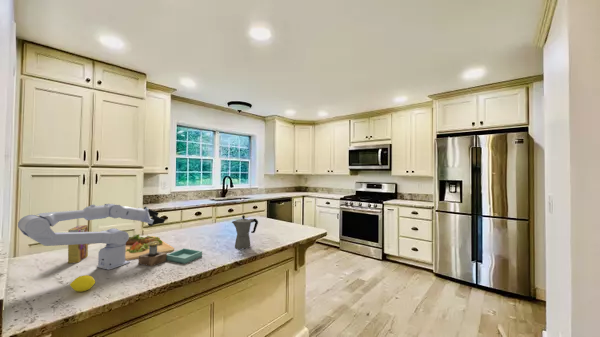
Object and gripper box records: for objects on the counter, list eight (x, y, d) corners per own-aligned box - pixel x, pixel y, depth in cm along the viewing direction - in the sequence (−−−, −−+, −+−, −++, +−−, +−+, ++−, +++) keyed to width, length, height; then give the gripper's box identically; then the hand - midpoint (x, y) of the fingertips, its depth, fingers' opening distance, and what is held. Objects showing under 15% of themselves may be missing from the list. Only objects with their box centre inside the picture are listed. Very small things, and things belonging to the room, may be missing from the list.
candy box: (77, 256, 124) (78, 225, 124) (88, 256, 125) (89, 224, 125) (66, 263, 115) (67, 229, 115) (78, 262, 117) (79, 229, 117)
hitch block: (151, 266, 115) (151, 258, 115) (138, 263, 118) (138, 255, 118) (166, 260, 123) (166, 253, 123) (153, 258, 125) (154, 250, 125)
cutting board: (175, 252, 137) (176, 238, 137) (123, 262, 120) (124, 246, 120) (154, 238, 161) (154, 226, 161) (108, 245, 144) (108, 232, 144)
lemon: (93, 287, 95) (96, 272, 96) (93, 292, 91) (97, 277, 92) (68, 289, 91) (72, 274, 92) (67, 295, 87) (71, 279, 87)
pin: (152, 264, 117) (152, 244, 117) (144, 262, 119) (145, 243, 119) (161, 261, 122) (161, 242, 122) (153, 259, 123) (154, 240, 123)
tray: (184, 263, 119) (184, 258, 119) (165, 260, 123) (165, 254, 123) (202, 256, 130) (202, 251, 130) (184, 253, 134) (184, 248, 134)
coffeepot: (233, 250, 141) (234, 217, 141) (229, 245, 149) (230, 214, 149) (260, 247, 148) (260, 215, 148) (254, 242, 156) (255, 213, 156)
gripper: (144, 212, 118) (170, 216, 129) (132, 200, 126) (158, 205, 137) (136, 226, 118) (164, 229, 129) (125, 213, 126) (152, 217, 137)
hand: (160, 217), depth 133 cm, fingers open, 7 cm apart
